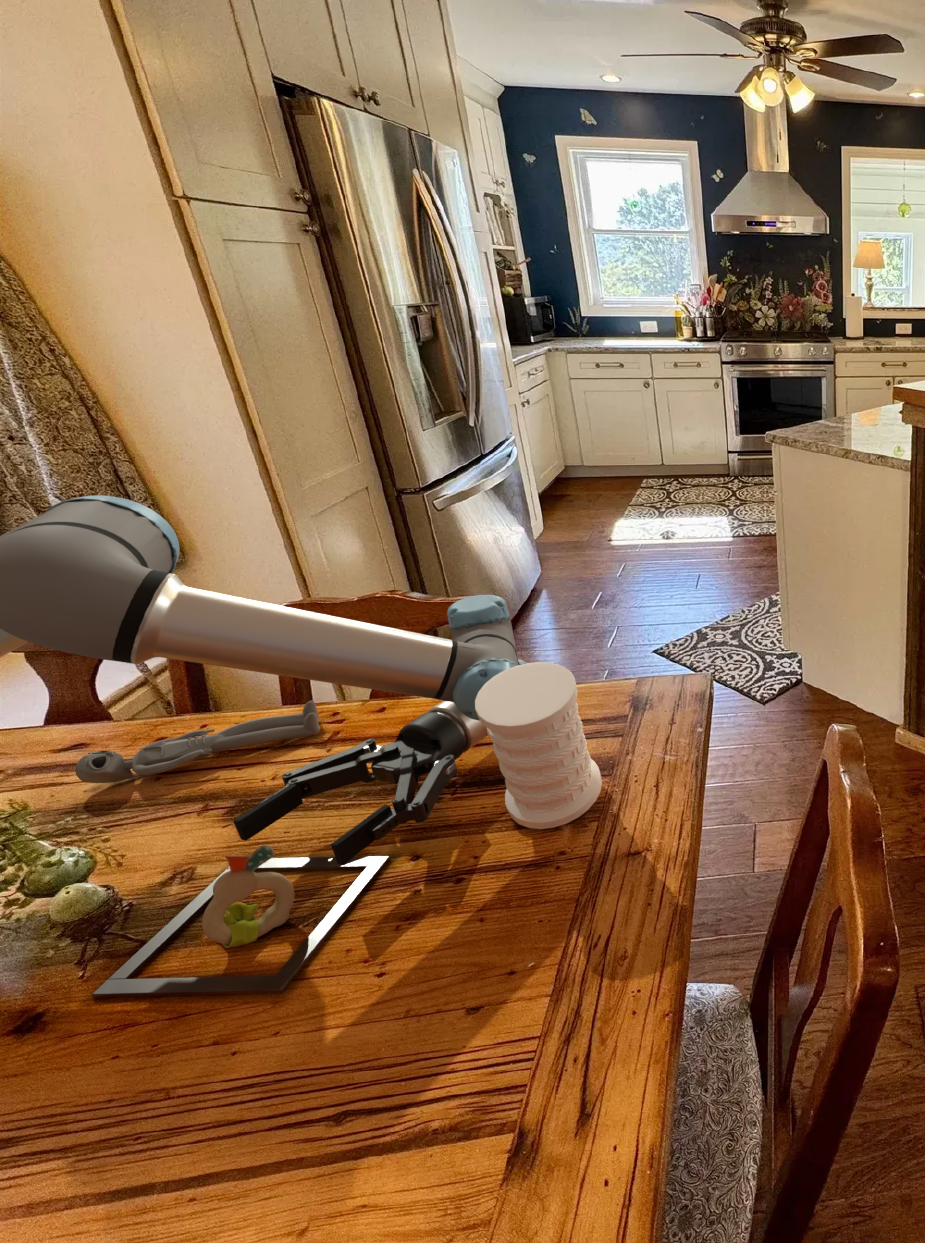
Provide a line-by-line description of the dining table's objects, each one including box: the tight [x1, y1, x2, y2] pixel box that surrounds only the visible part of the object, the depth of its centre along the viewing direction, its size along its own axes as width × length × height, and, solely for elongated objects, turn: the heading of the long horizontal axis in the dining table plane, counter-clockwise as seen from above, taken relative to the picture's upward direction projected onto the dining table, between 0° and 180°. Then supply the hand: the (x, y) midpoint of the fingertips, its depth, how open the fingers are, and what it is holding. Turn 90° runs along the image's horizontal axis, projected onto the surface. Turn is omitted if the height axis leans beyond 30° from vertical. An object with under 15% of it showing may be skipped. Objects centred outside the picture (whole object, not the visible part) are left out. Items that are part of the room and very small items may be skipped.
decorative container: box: [475, 661, 603, 830], centre depth 88 cm, size 12×12×18 cm
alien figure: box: [74, 700, 321, 784], centre depth 100 cm, size 8×5×25 cm
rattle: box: [201, 844, 295, 949], centre depth 73 cm, size 8×8×12 cm
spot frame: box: [91, 855, 391, 999], centre depth 75 cm, size 17×17×1 cm
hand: (286, 842), depth 77 cm, fingers open, 13 cm apart
